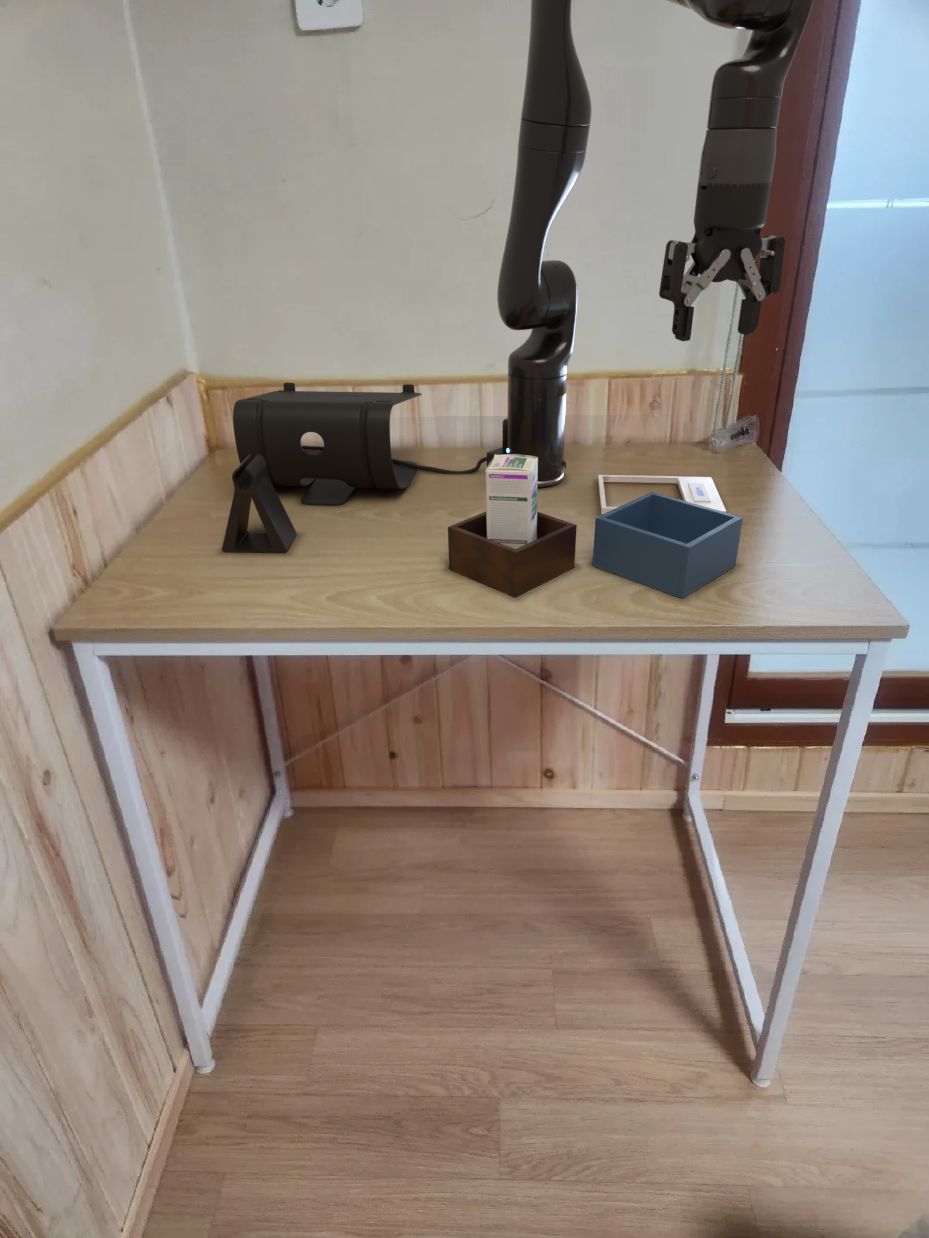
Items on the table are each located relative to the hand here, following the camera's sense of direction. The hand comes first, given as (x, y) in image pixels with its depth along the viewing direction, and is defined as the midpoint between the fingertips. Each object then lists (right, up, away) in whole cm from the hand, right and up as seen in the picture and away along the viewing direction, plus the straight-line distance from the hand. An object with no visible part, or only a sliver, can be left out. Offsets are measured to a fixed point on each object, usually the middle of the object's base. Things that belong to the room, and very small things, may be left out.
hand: (713, 337), depth 97 cm
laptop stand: (-50, -10, +42) cm, 66 cm away
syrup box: (-23, -26, +13) cm, 37 cm away
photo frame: (+1, -14, +34) cm, 36 cm away
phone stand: (-57, -22, +21) cm, 65 cm away
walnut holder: (-23, -26, +13) cm, 37 cm away
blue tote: (-3, -26, +13) cm, 29 cm away
